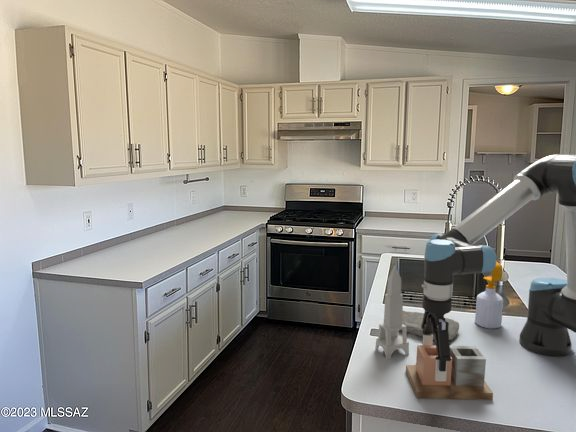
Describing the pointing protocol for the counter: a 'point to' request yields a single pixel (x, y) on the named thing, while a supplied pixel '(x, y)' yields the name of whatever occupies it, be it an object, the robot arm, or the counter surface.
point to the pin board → (446, 389)
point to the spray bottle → (490, 302)
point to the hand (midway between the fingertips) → (433, 367)
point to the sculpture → (393, 318)
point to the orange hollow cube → (430, 366)
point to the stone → (415, 321)
